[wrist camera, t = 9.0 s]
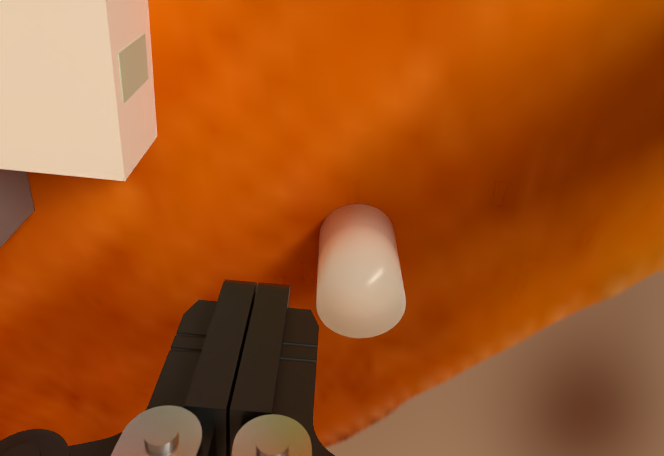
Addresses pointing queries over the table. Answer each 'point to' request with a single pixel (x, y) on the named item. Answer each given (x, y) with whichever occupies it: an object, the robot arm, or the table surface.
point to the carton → (76, 87)
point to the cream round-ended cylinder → (359, 273)
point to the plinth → (13, 202)
